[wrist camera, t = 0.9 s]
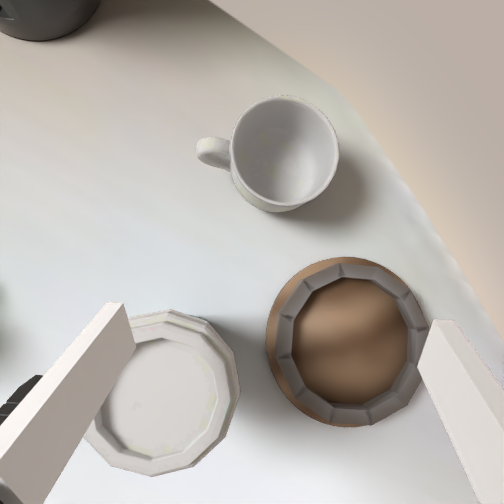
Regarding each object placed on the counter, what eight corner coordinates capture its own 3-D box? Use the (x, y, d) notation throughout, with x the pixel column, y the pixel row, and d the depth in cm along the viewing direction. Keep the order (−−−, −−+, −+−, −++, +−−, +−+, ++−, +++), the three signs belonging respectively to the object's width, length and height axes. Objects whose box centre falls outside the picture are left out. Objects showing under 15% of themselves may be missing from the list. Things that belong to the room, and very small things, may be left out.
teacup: (323, 148, 37) (350, 111, 29) (305, 231, 36) (328, 216, 28) (215, 118, 36) (212, 71, 28) (192, 201, 35) (182, 177, 27)
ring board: (239, 298, 34) (240, 299, 31) (378, 232, 36) (390, 229, 34) (309, 453, 33) (316, 468, 30) (448, 375, 35) (465, 382, 33)
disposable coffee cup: (253, 333, 34) (275, 373, 19) (198, 417, 32) (175, 532, 17) (176, 280, 33) (137, 280, 19) (117, 363, 32) (25, 433, 17)
